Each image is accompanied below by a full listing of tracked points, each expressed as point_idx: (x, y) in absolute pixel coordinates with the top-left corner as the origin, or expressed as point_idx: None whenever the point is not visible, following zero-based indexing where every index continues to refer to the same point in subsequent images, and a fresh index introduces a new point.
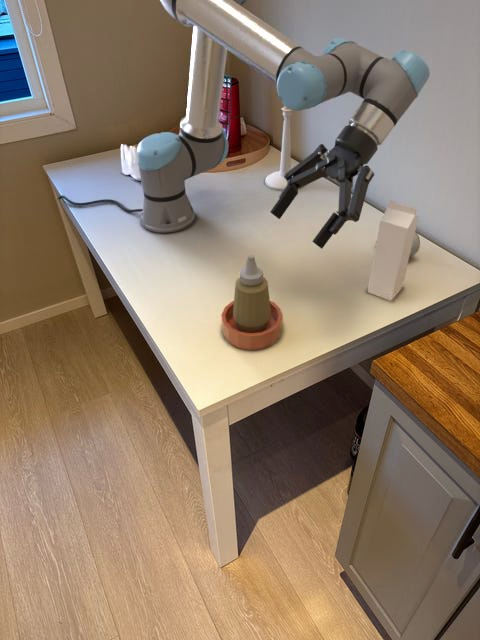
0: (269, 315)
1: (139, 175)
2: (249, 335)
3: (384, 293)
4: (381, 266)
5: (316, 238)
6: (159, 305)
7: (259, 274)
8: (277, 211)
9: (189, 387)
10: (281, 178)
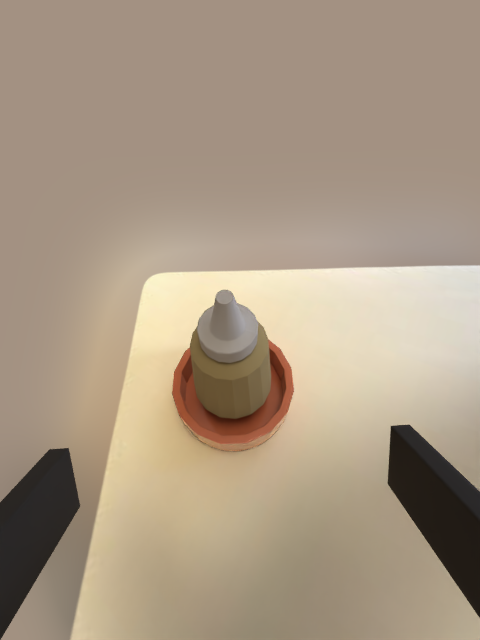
0: (200, 399)
1: None
2: (187, 351)
3: None
4: None
5: (45, 464)
6: (362, 294)
7: (206, 337)
8: (402, 461)
9: (180, 274)
10: None
